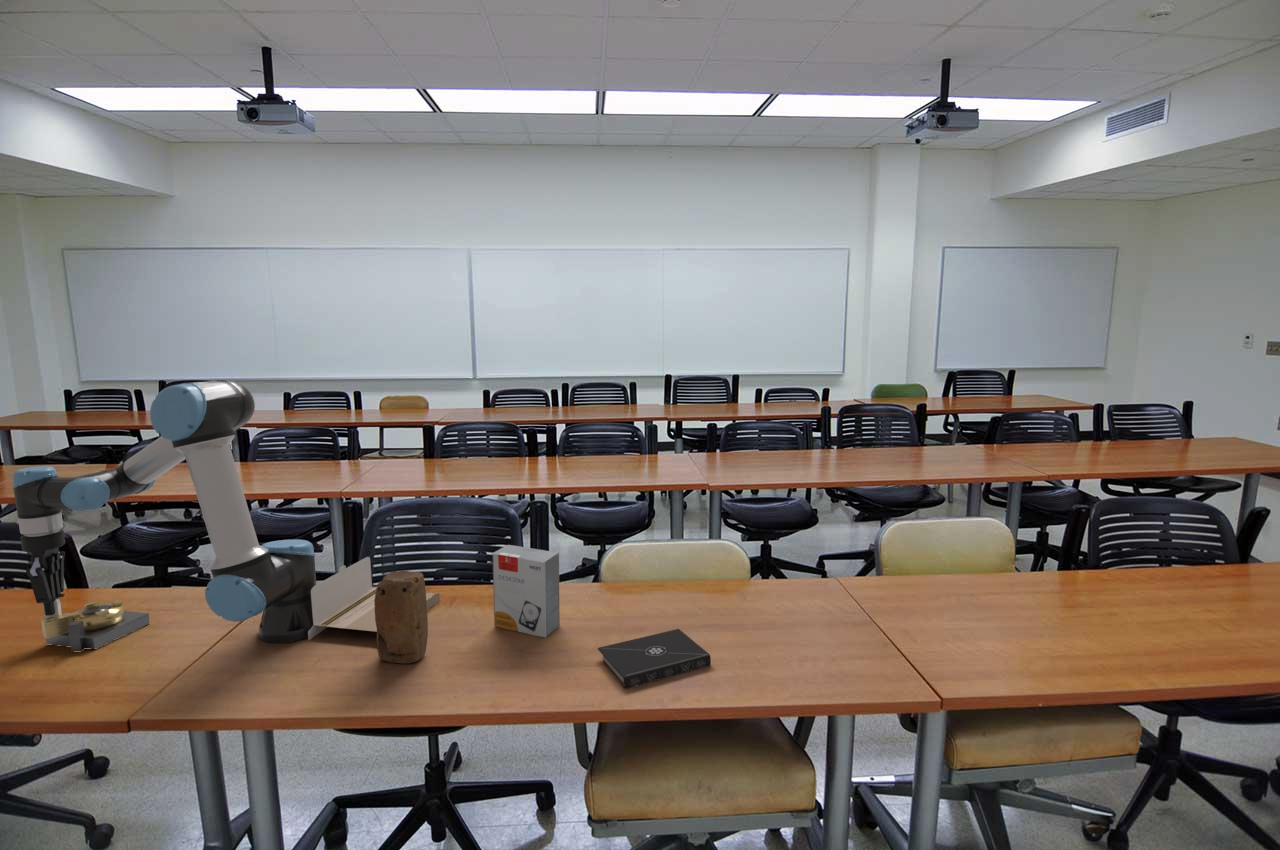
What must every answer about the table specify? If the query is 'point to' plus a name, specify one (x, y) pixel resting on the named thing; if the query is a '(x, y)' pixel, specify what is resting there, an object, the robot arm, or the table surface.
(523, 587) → the hard drive box
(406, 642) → the block
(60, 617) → the brass ring with ball
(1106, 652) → the table surface
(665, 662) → the book
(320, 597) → the box
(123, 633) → the housing
